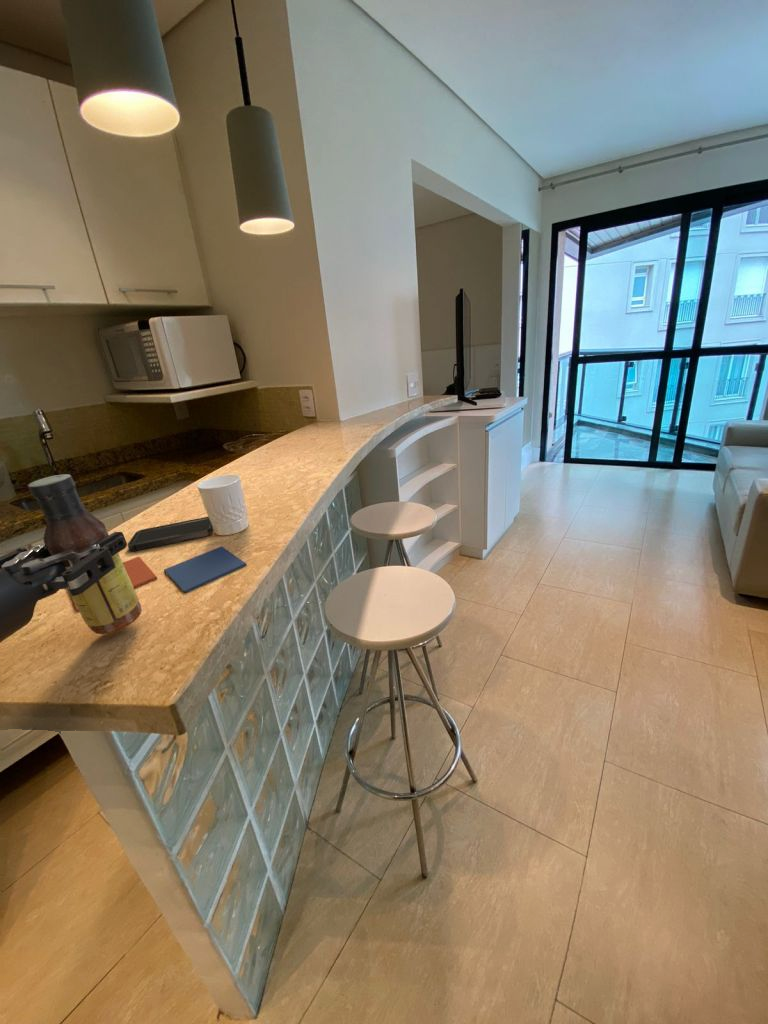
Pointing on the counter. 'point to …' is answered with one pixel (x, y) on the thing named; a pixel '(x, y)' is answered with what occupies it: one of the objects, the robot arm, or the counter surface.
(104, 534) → the sauce bottle
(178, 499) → the counter surface
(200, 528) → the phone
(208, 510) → the white cup
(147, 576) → the terracotta mat
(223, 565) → the slate-blue mat
